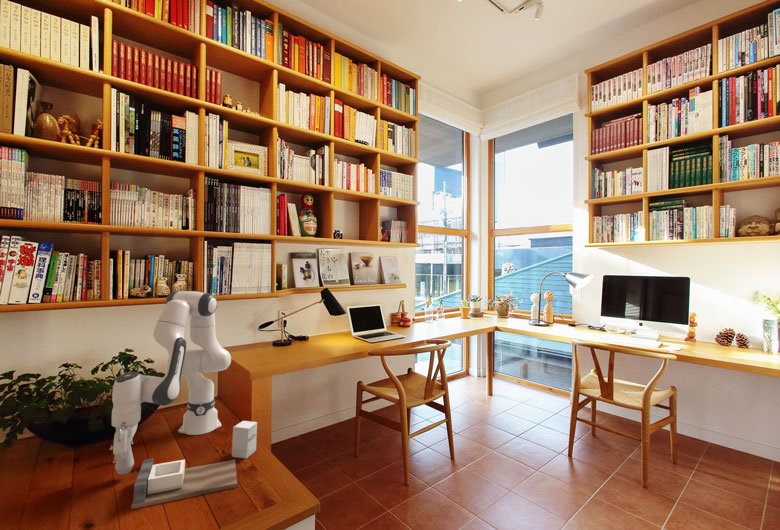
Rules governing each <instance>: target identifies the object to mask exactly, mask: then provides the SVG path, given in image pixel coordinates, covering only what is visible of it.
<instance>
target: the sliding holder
mask: <svg viewBox="0 0 780 530" xmlns="http://www.w3.org/2000/svg"><path fill="white" fill-rule="evenodd" d="M185 469H186V459H181V460H179V459H178V460H173V461H169V462H162V463H157V464H156V463H155V464H153V466H152V469H151V472H150V475H149V478H148V491H147V495H148V494H153V493H158V492H163V491H168V490H173V489H178V488H182V486H183V480H184V473H185Z"/></svg>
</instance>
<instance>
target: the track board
mask: <svg viewBox="0 0 780 530" xmlns="http://www.w3.org/2000/svg"><path fill="white" fill-rule="evenodd" d="M153 465H154V458H153V457H152V458H147V459H144V460H143V461H142V465H141V467H140V469H139V473H138V475H137V477H136V480H135V483H134V485H133V498H132V499H133V500H132V501H131V508H130V509H131V510H136V509H139V508H140V509H141V508H144V507H149V506H154V505H159V504H164V503H167V502H175V501H177V500H183V499H188V498H191V497H192V498H193V497H197V496H201V495H206V494H211V492H212V493H215V492H221V491H226V490H229V489H235V488H236V489H237V488H238V476H237V475H238V474H237V467H236V466H237V465H236V459H231V460H225V461H220V462H215V463H209V464H204V465H203V464H202V465H198V466H192V467H187V468H186V467H185V473H184V480H183V486H182V488H178V489H173V490H168V491H163V492H158V493H153V494H148V495H147V491H148V478H149V475H150V472H151V469H152V466H153Z"/></svg>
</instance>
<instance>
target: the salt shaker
mask: <svg viewBox="0 0 780 530" xmlns="http://www.w3.org/2000/svg"><path fill="white" fill-rule="evenodd" d="M133 438H134V437H133ZM133 438H132V437H131V442H133ZM131 442H130V443H131ZM114 465H115V466H114V469H115V471H116V473H117V474H118V475H126V474H129V473H130V472H131V471H132V469H133V467H134V465H135V459H134V454H133V451H132V446H131V444H129V446H128V448H127V457H126V458H125V459H120V454H118V456H117V460H116V463H115V464H114Z"/></svg>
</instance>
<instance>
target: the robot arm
mask: <svg viewBox="0 0 780 530" xmlns="http://www.w3.org/2000/svg"><path fill="white" fill-rule="evenodd" d="M217 308H218V299H217V297H216V296H215V295H214V294H212V293H208V292H203V291H202V292H201V291H197V290H196V291H195V290H191V291H190V290H184V291H183V290H174V291H172V292H171V293H169V294H168V295H167V297H166V298H165V306H164V307H163V309H162V310H161V312H160V314H159V316H158V319H157V320H156V324H155V326H154V328H153V333H152V334H153V335H152V336H153V338H154V340H155V341H156V343H157V344H158V345H159V346H161V347H163V348H164V349H165V350H166V351H167V353H168V361H167V364H166V369H165V374H164V376H163V377H160V376H155V375H154V376H153V375H145V374H141V373H139V372H137V371H129V372H125V373H123V374H120V375H119V376H118V377H116V379H115V380H114V383H113V387H112V397H111V399H112V404H113V405H112V406H113V407H112V410H111V426H112V427H114V428H115V432H114V437H113V443H114V445H113V449H112V452H113V455H114V456H115V455H117V454H120V459H125V458H126V457H127V448H128V446H129V444H130V445H131V443H130V442H131V437H132V438H134V436H135V433H136V432H137V429H138V424H139V423H140V421H141V417H142V416H141V415H142V405H141V404H142V403H150V404H151V403H152V404H156V405H160V406H168V405H170V404H172V403H174V402H175V400H177V398H178V397H179V395H180V392H181V378H182V377H183V378H184V379H185V380H186V382H187V387H188V402H187V405H186V407H187V408H186V409H187V411H186V412H185V413H184V414H183V421H182V425H180V427H179V429H177V431H178V434H179V433H181V434H186V435H189V436H198V435H204V434H208V433H211V432H212V431H214V430H216V429H218V428H221V427H222V423H221V422H220V419H219V416H218V410H217V408H215V406H216V405H215V404H216V401H215V400H216V399H215V383H214V382H213V380H211V379H210V378H207V377H205V376H204V375H203V373H210V372H211V373H214V372H216V373H217V372H222V371H225V370H227V369H228V368H229V367H230V365H231V363H232V355H231V354H230V352H229V351H228V350H227V349H225V348H224V347H223V346H221V344H220V342H219V341H218V339H217V334H216V333H217V331H216V310H217ZM188 321H189V338H190V341H191V342H192V343H193V344H194V345H197V346H199V347H200V348H202V349H188V350H187V340H186V339H185V330H186V328H187V325H188Z"/></svg>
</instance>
